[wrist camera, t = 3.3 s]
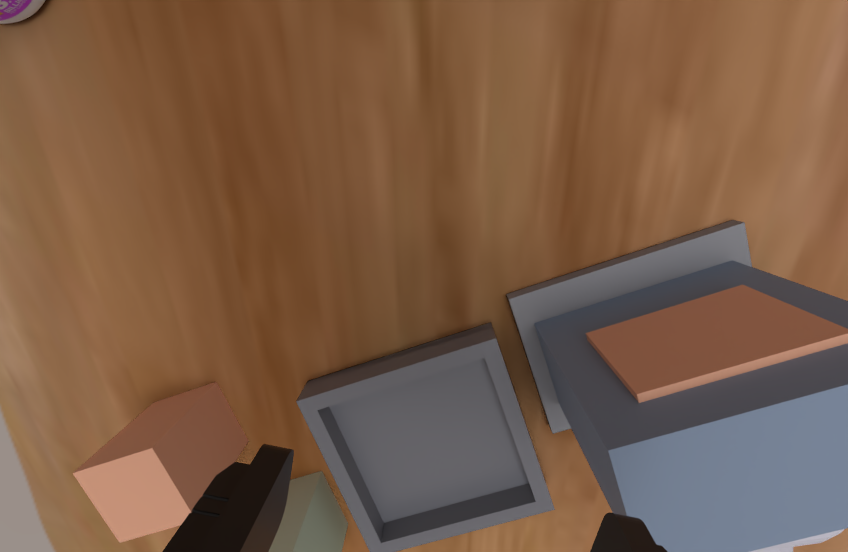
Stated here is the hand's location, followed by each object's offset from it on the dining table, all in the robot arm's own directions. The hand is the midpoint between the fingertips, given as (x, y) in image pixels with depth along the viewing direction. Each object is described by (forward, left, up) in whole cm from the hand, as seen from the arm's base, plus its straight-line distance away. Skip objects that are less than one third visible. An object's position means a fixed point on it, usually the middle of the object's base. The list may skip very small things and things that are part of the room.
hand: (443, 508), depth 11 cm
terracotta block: (+3, -19, -17) cm, 26 cm away
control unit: (+6, +11, -17) cm, 21 cm away
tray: (+9, -4, -17) cm, 20 cm away
